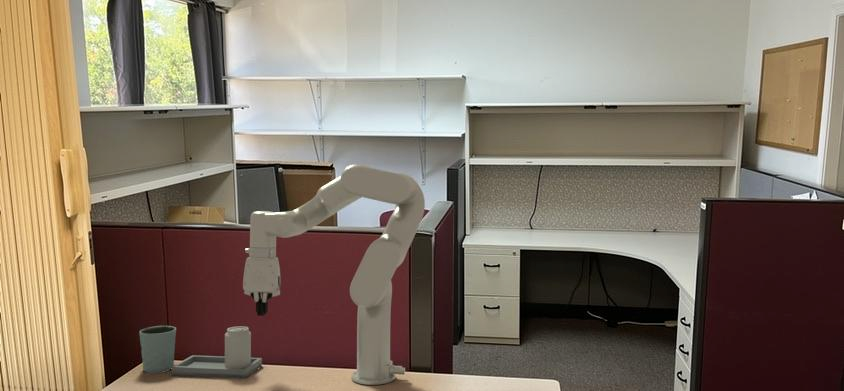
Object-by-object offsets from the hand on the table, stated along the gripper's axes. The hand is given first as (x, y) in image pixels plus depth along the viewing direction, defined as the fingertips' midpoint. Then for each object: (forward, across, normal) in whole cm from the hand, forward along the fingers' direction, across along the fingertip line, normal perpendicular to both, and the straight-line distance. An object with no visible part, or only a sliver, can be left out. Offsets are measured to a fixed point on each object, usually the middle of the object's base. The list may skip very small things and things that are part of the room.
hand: (261, 314), depth 183 cm
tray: (+17, -13, 0) cm, 22 cm away
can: (+16, -7, 0) cm, 18 cm away
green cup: (+18, -32, -1) cm, 36 cm away
